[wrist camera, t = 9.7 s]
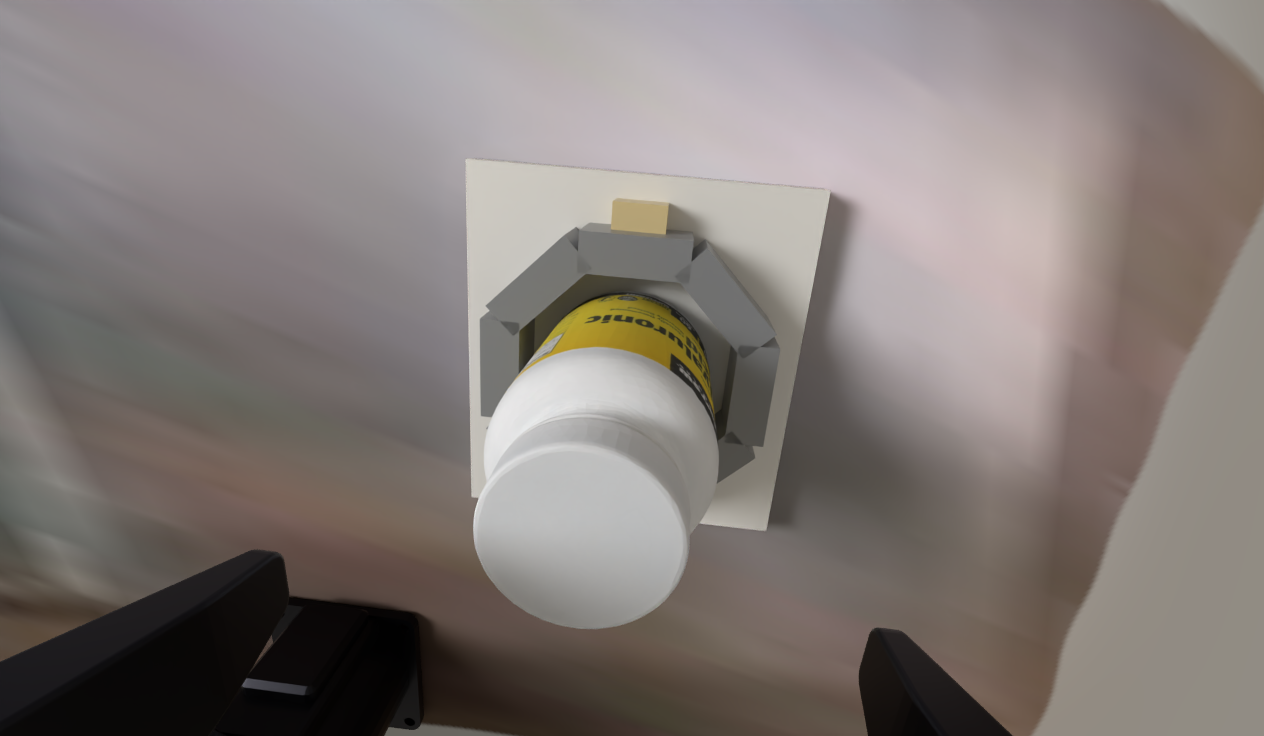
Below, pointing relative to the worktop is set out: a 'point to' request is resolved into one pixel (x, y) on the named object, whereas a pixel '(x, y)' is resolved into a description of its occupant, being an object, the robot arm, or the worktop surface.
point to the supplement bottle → (600, 464)
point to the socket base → (649, 291)
